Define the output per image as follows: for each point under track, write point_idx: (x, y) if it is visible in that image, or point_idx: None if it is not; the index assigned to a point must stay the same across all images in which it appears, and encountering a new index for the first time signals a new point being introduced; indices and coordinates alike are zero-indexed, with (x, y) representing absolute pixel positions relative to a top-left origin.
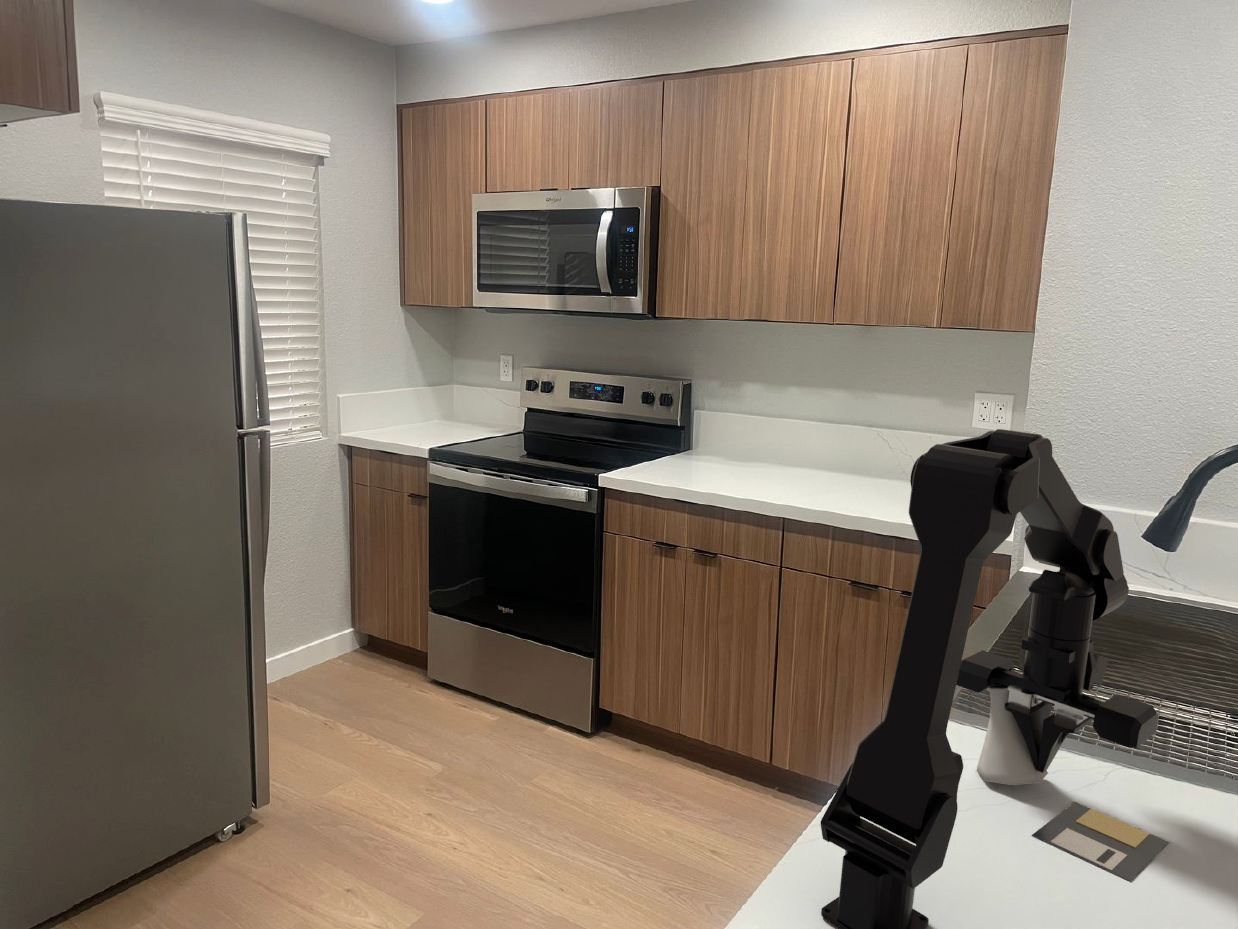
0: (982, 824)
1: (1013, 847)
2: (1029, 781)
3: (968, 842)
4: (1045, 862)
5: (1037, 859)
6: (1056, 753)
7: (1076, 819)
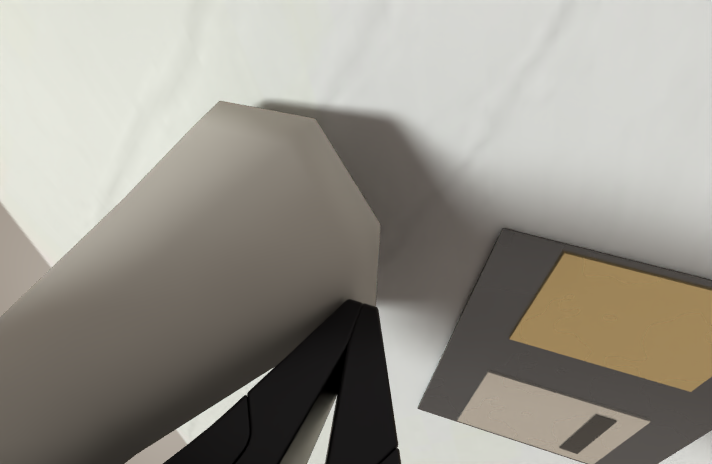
0: None
1: (397, 437)
2: None
3: None
4: (457, 456)
5: (443, 453)
6: (388, 385)
7: (511, 327)
